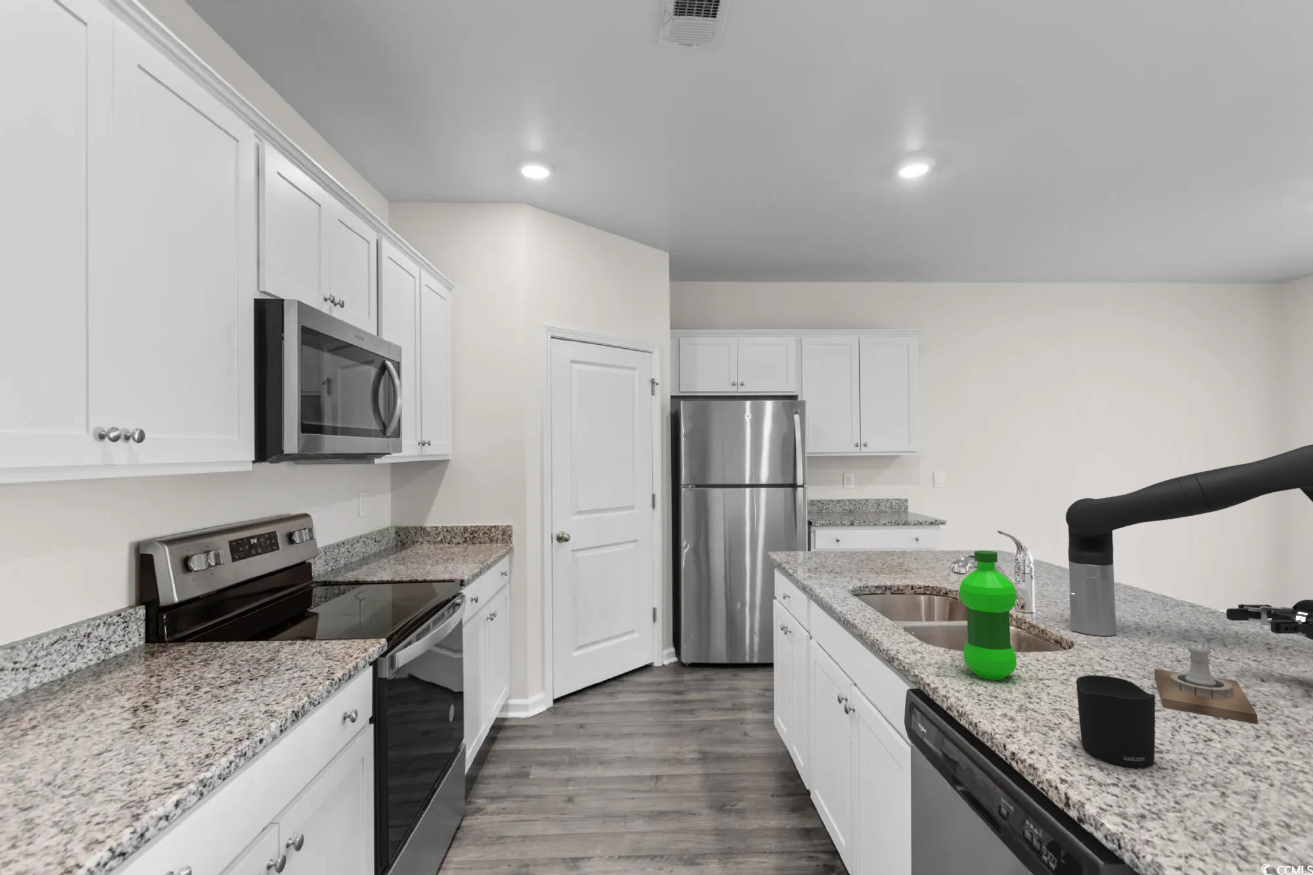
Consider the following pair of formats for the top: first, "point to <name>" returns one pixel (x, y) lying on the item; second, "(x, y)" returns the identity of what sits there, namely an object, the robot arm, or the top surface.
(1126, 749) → the pen holder
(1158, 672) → the ring plate
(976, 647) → the plastic bottle
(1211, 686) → the rook chess piece
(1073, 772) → the top surface
